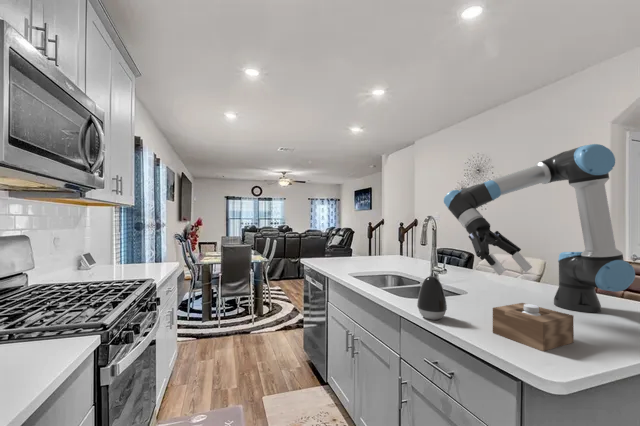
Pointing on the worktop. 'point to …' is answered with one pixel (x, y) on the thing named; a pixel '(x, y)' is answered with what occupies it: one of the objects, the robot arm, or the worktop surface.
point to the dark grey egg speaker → (432, 299)
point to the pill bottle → (531, 309)
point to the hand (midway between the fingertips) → (516, 271)
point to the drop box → (533, 326)
